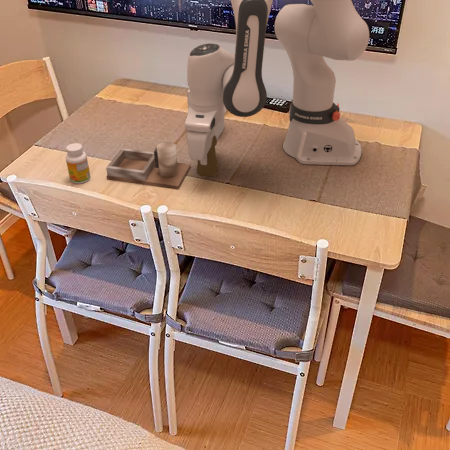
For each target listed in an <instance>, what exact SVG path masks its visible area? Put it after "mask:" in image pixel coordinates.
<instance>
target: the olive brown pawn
mask: <svg viewBox="0 0 450 450" xmlns="http://www.w3.org/2000/svg"><path fill="white" fill-rule="evenodd" d="M217 141H218V140H217V139H216V136H215V135H214V137H213V139H212V146H211V148H210V150H209V151H208V153H207V157H208V163H207V165H201V164H200V161H199V160H197V163H196V164H197V165H196V174H197V175H199V176H201V177H205V178H210V177H214V176H216V175H218V173H219V164H218V158H217V153H216V147H217Z"/></svg>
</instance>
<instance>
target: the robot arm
mask: <svg viewBox="0 0 450 450" xmlns="http://www.w3.org/2000/svg"><path fill="white" fill-rule="evenodd" d="M309 1H310V2H311V4H312V5H310V4H305V3H290V4H285V5H284V6H283V7H282V8H281V9H280V10H279V12H278V14H277V16H276V17H275V21H274V34H275V36H276V39H277V40H278V41H279V43H280V44H281V45H282V46H283V48H284V50H285V51H286V53H287V55H288V58H289V62H290V65H291V67H292V75H293V83H292V84H293V86H292V87H293V89H292V99H291V102H290V104H289V112H288V113H289V114H288V118H289V125H288V129H287V134H286V136H285V139H284V142H283V144H282V148H283V151H284V152H285V153H286V154H287V155H288V156H291V157H292V158H294V159H296V160H297V161H298V162H299V163H300V164H301V165H322V166H324V165H327V166H328V165H329V166H330V165H331V166H354V165H356V164H357V163H359V161H360V160H361V157H362V145H361V143H360V142H359V141H358V140H357V139H356V136H355V132H354V129H353V127H352V126H351V125H350V124H348V123H347V122H346V121H345V120H343V118H342V117H341V113H340V110H341V108H340V104H339V103H337V104H336V103H335V102H334V98H335V89H336V82H337V79H336V75H335V73H334V70H332V68H331V67H330V66H329V65H328V64H327V63H326V61H325V58H327V59H331V60H334V61H347V62H348V61H349V62H350V61H355V60H357V59H358V58H360V57H361V56H362V55H363V53H365V51H366V50H367V47H368V44H369V41H370V30H369V26H368V24H367V22H366V21H365V20H364V18H362V17H361V16H360V14H359V13H358V12H357V10H356V7H355V6H354V4H353V1H352V0H309ZM230 2H231V3H230V4H231V6H232V7H231V8H232V11H233V16H234V22H235V32H236V33H235V47H234V53H232V52H230V51H228V50H226V49H224V48H223V47H222V46H220V45H219V44H218V43H217V44H216V43H203V44H200V45H198V46H196V47H194V48H193V49H192V50H191V51H190V53H189V54H188V57H187V58H188V59H187V65H186V66H187V67H186V68H187V71H186V73H187V74H186V75H187V76H186V77H187V78H186V79H187V87H188V90H190V93H189V97H188V99H187V104H188V103H189V107H188V106H187V114H186V117H185V118H186V119H185V121H184V129H185V130H186V131H187V132H186V133H187V134H186V135H187V136H186V139H187V140H186V141H187V149H188V151H187V152H188V155H189V158H190V159H191V160H193V161H198V160H199V161H200V164H201V165H207V163H208V157H207V153H208V151H209V150H210V148H211V146H212V139H213V137H214V135H215V136H216V137H217V135H218V133H219V131H220V129H221V127H222V119H223V117H224V118H225V114H224V106H225V107H226V111H227V112H228V113H230V114H232V115H233V116H236V117H239V118H248V117H252V116H255V115H257V114H259V112H261V110H262V109H264V107H265V105H266V103H267V99H268V94H267V90H266V86H265V83H264V80H263V74H262V73H263V60H264V53H265V41H266V34H267V32H266V31H267V27H268V21H269V18H270V12H271V8H272V5H273V0H230Z"/></svg>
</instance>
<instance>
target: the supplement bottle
mask: <svg viewBox="0 0 450 450" xmlns="http://www.w3.org/2000/svg"><path fill="white" fill-rule="evenodd" d="M65 149H66V155H65V161H66V167H67V171H68V176H69V181H70V182H71V183H73V184H81V185H82V184H85V183H87V182H88V181H90V179H91V172H90V166H89V162H88V156H87V154H86V152H85V151H84V148H83V145H82V144H81V143H77V142H75V143H70V144H68V145H67V146H66V148H65Z"/></svg>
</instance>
